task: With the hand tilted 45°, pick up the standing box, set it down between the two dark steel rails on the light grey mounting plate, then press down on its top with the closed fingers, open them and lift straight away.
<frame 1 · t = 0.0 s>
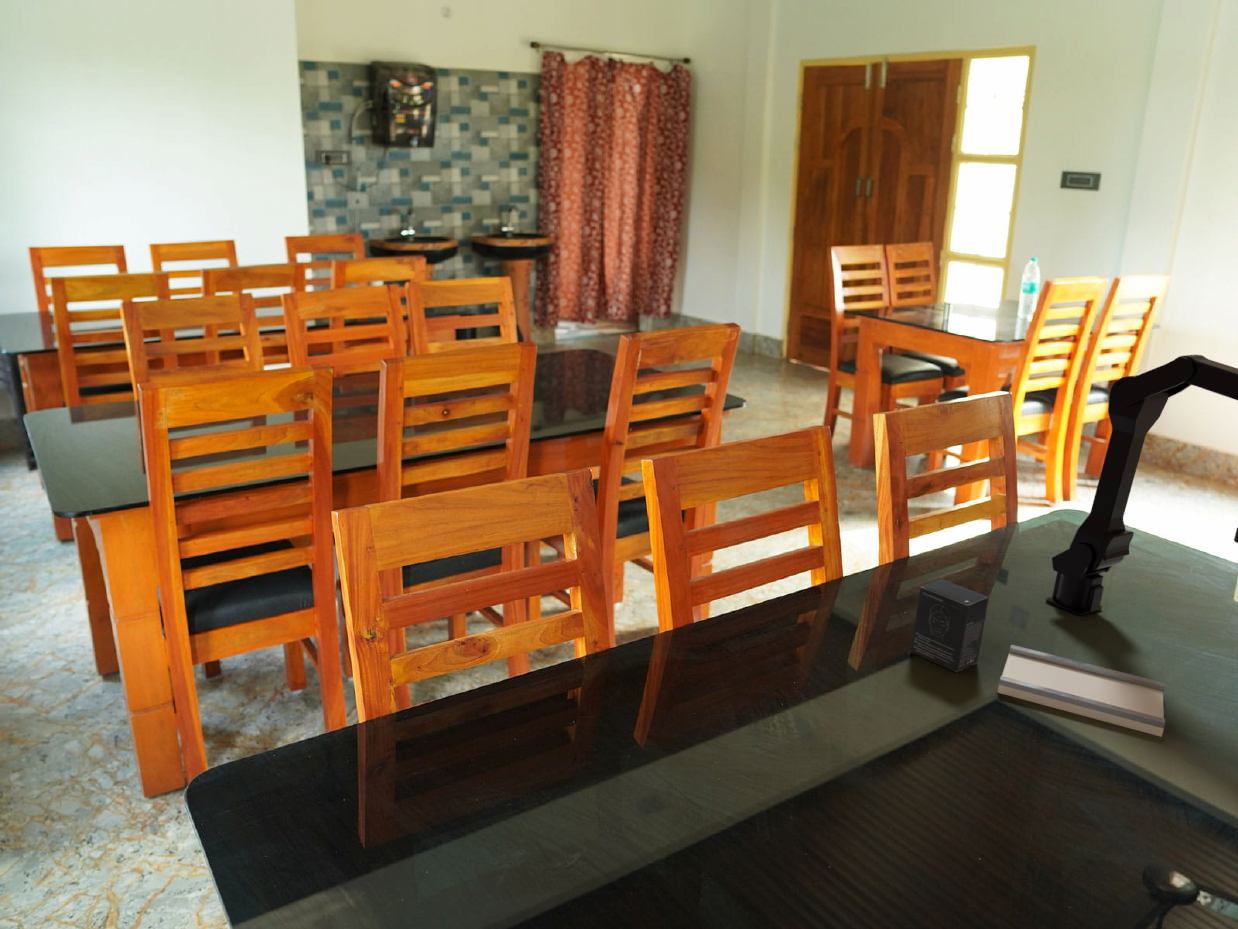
box: (942, 659, 145), on the table
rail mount: (1079, 694, 137), on the table
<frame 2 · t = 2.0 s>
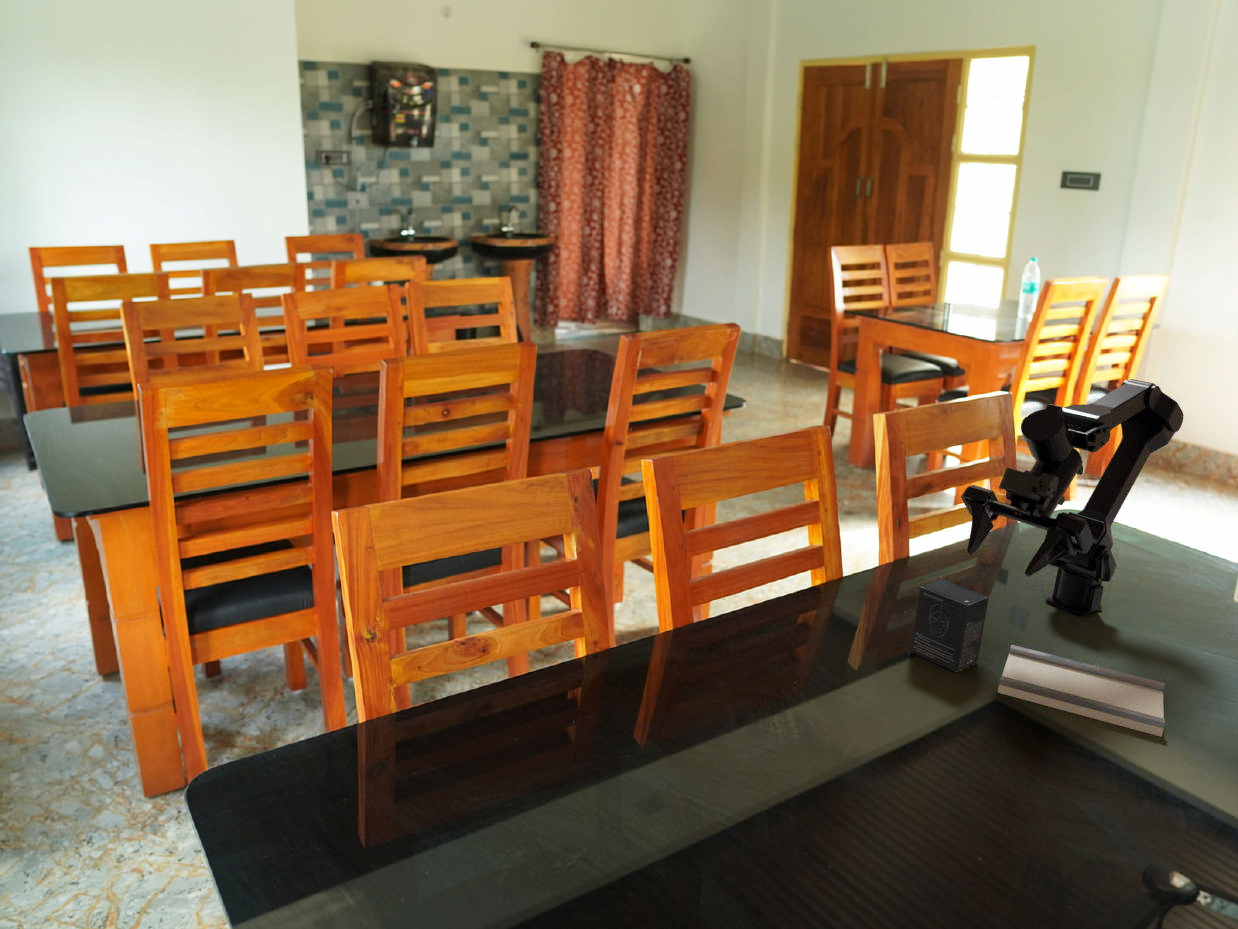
hand: (997, 564, 145), 13 cm above the table, tool tilted 45°, fingers open, 9 cm apart
nothing on the table moved.
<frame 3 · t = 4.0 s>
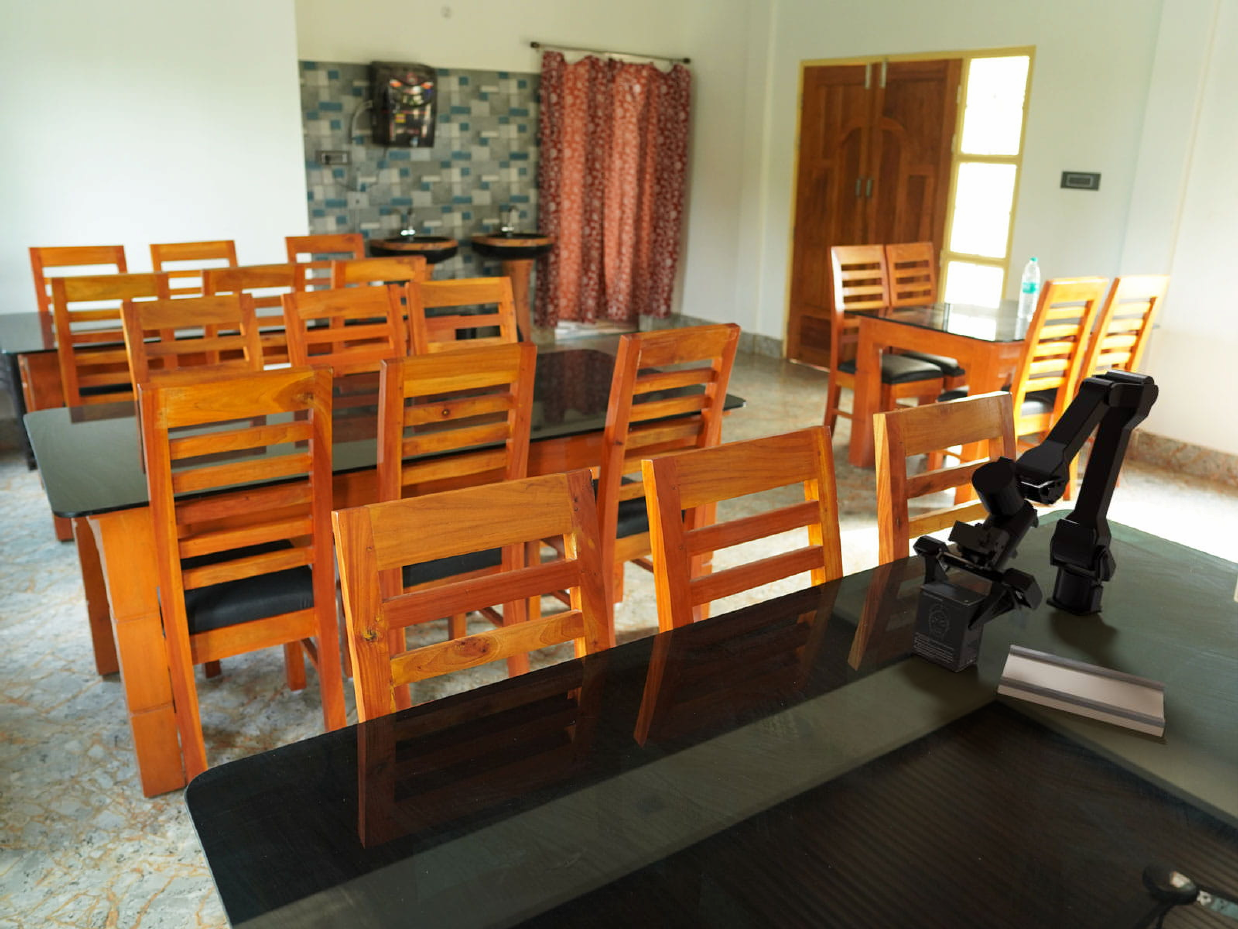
hand: (944, 618, 142), 7 cm above the table, tool tilted 45°, fingers closed on box, 8 cm apart
box: (942, 659, 145), on the table, touching gripper
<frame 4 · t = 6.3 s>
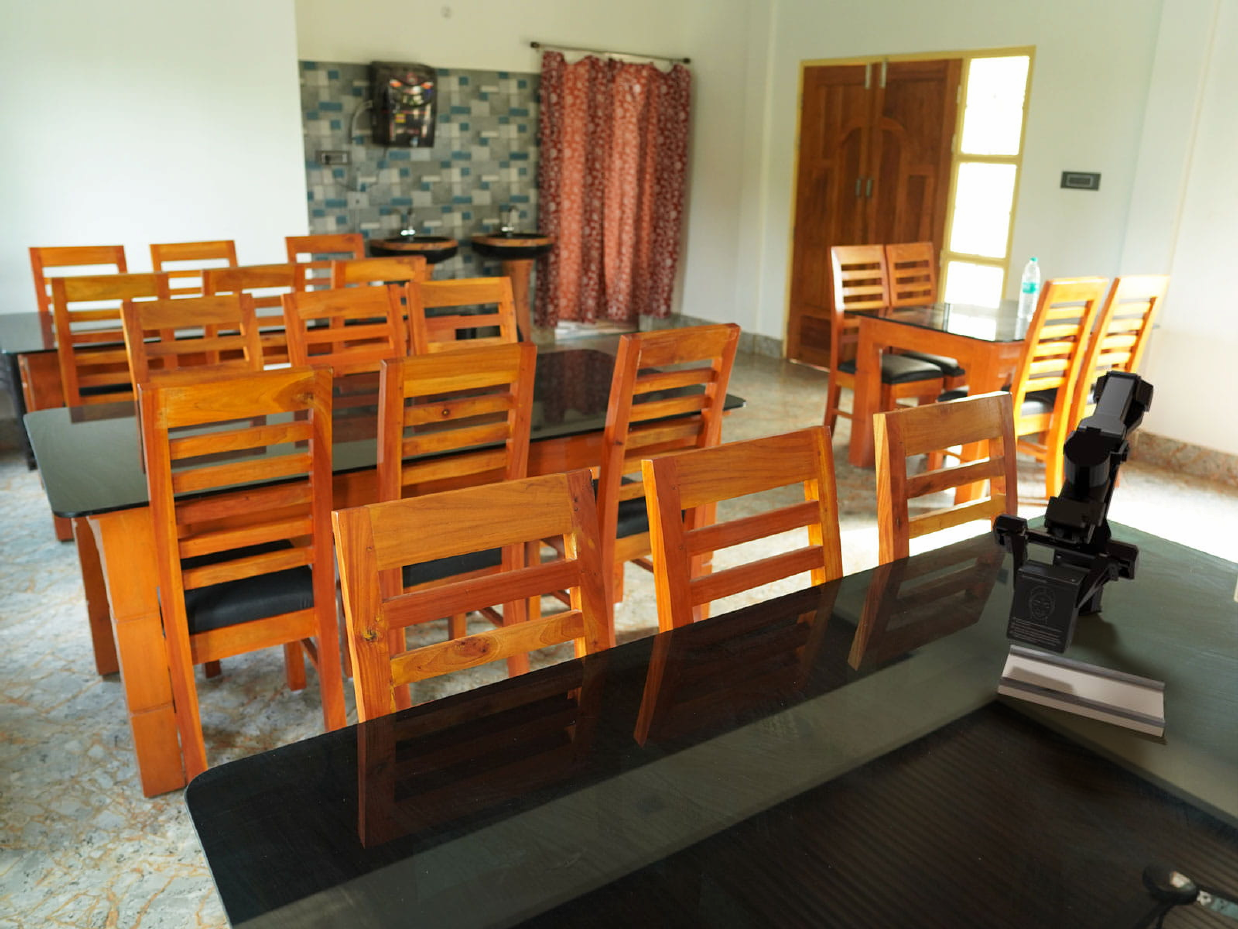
hand: (1045, 598, 137), 12 cm above the table, tool tilted 45°, fingers closed on box, 8 cm apart
box: (1038, 641, 140), point 5 cm above the table, touching gripper
when the fingers open (9 cm above the table, at t = 8.8 s): box drops 1 cm, resting on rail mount.
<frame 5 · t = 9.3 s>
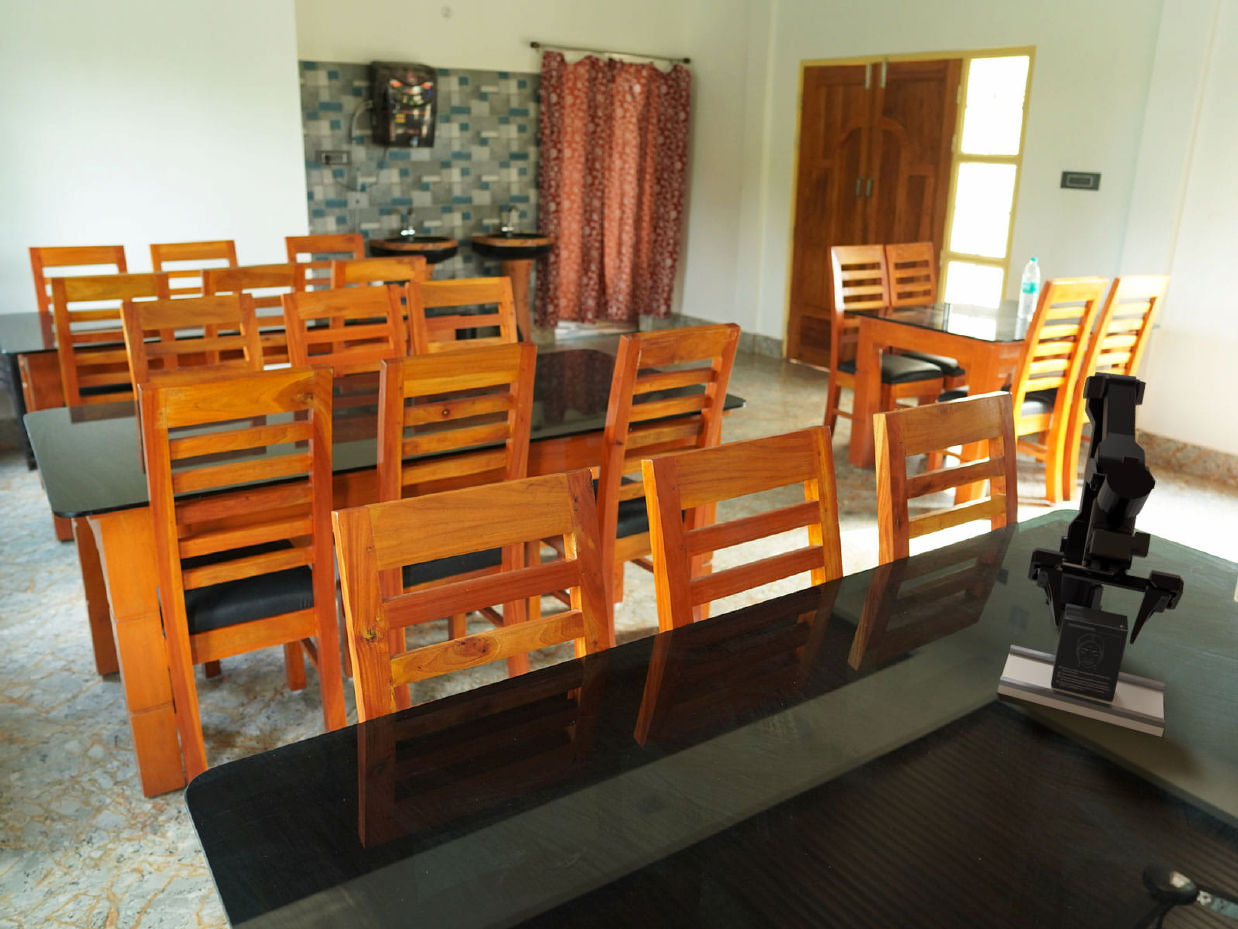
hand: (1093, 634, 133), 10 cm above the table, tool tilted 45°, fingers open, 9 cm apart
box: (1081, 687, 137), point 1 cm above the table, touching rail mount
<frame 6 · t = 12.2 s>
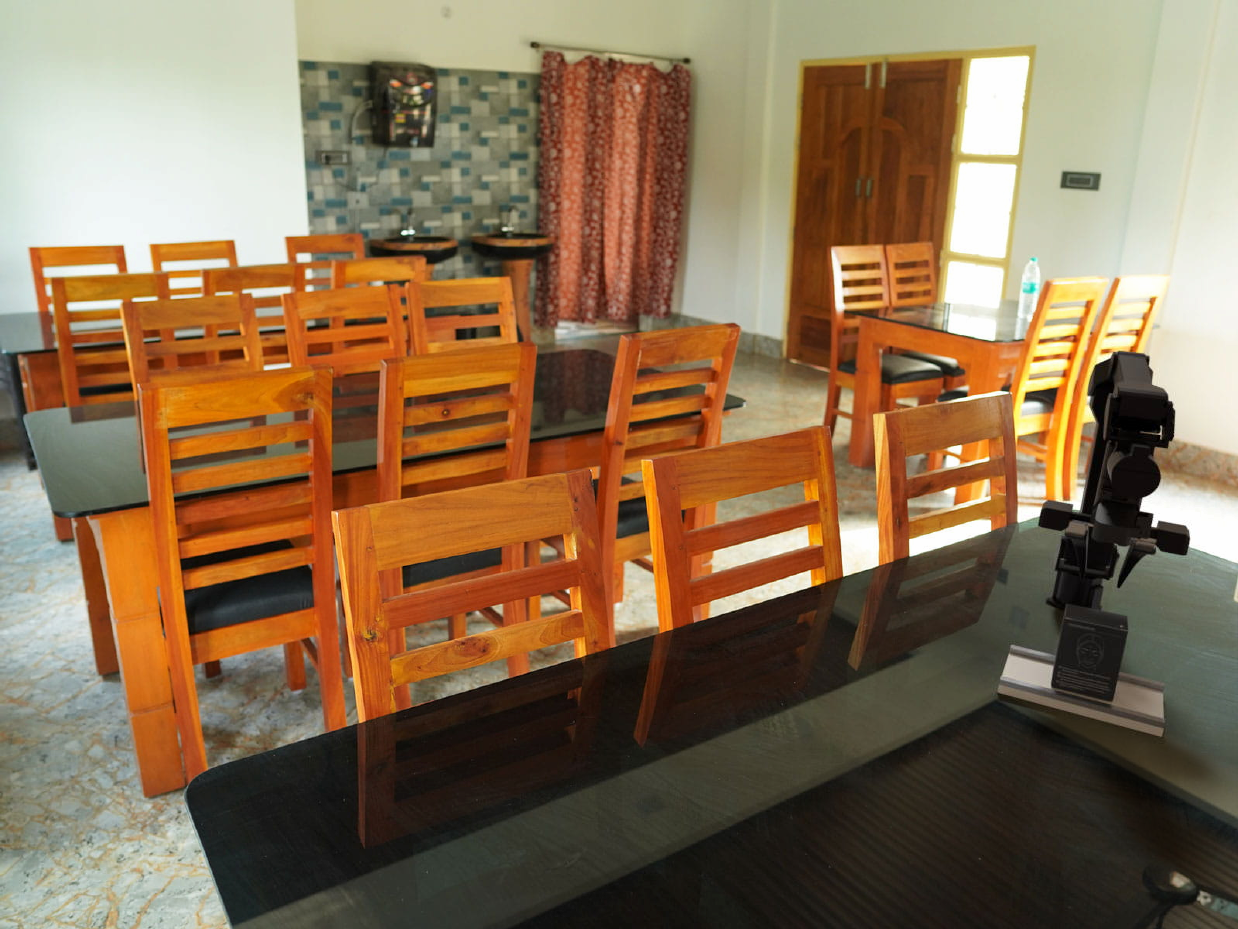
hand: (1100, 583, 141), 13 cm above the table, tool pointing down, fingers open, 4 cm apart
nothing on the table moved.
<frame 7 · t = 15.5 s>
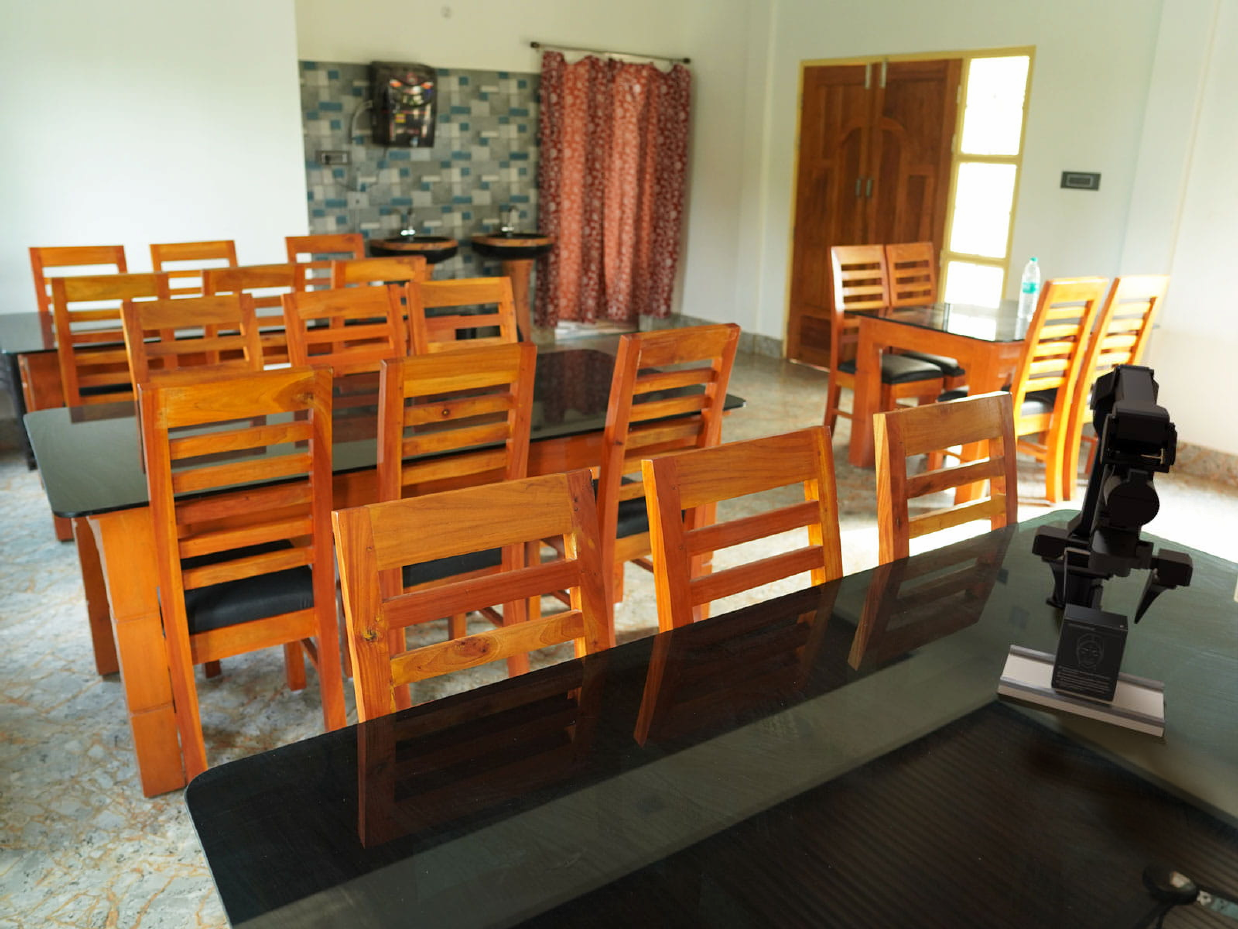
hand: (1097, 614, 133), 12 cm above the table, tool pointing down, fingers open, 9 cm apart
nothing on the table moved.
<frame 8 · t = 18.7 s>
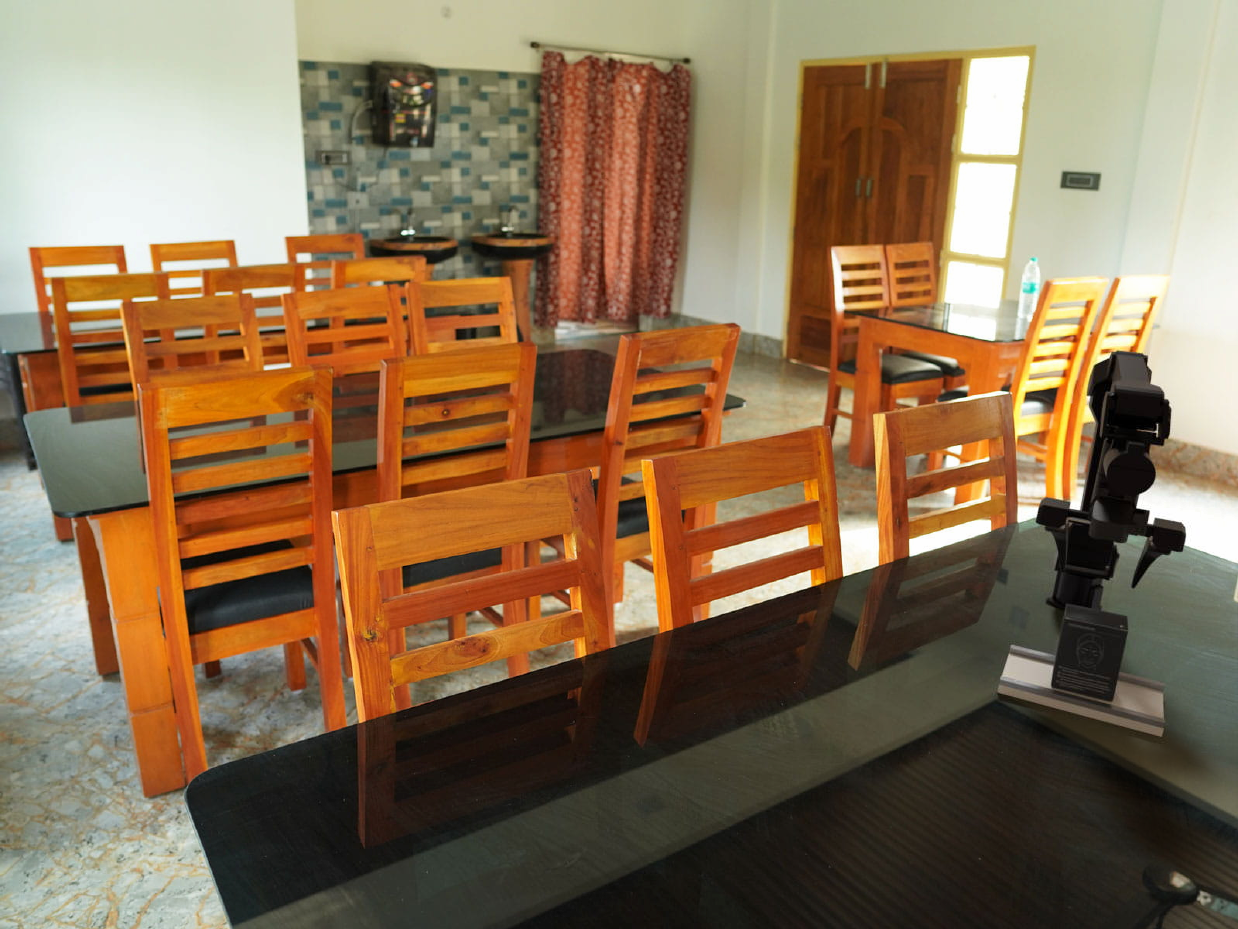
hand: (1097, 579, 143), 13 cm above the table, tool pointing down, fingers open, 9 cm apart
nothing on the table moved.
at the end: box 0.1 cm off-centre on the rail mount, point 1.0 cm above the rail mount's base; box tilted 0°; the gripper is holding nothing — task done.
